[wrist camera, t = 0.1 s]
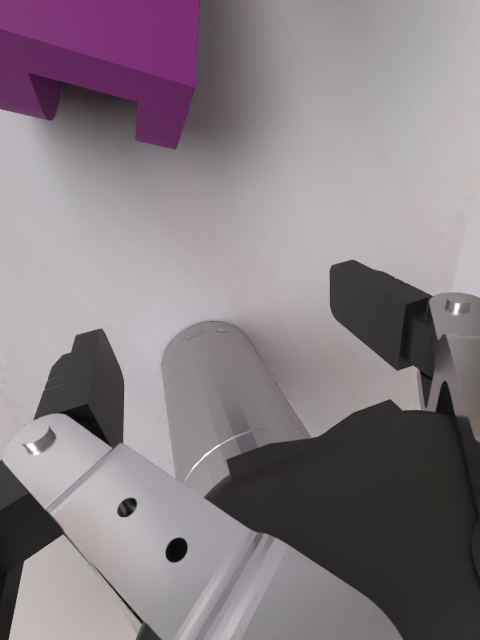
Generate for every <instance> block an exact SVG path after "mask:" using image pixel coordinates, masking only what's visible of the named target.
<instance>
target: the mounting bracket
mask: <svg viewBox="0 0 480 640" xmlns="http://www.w3.org/2000/svg"><path fill="white" fill-rule="evenodd" d="M198 19H199V0H0V109H2V110H7V111H11V112H15V113H20V114H24V115H28V116H32V117H37V118H41V119H45V120H50V121H51V120H53V119H54V117H55V115H56V112H57V108H58V103H59V96H60V84H61V82H65V83H68V84H72V85H76V86H80V87H83V88H87V89H91V90H94V91H98V92H102V93H105V94H109V95H113V96H117V97H120V98H124V99H128V100H131V101H135V102H138V103H137V120H136V136H135V140H136V141H140V142H145V143H149V144H153V145H158V146H162V147H166V148H171V149H176V147H177V145H178V142H179V139H180V135H181V132H182V129H183V125H184V122H185V118H186V115H187V112H188V108H189V105H190V102H191V98H192V95H193V92H194V88H195V74H196V55H197V37H198Z"/></svg>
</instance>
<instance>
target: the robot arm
mask: <svg viewBox="0 0 480 640" xmlns="http://www.w3.org/2000/svg"><path fill="white" fill-rule="evenodd" d="M330 308H331V311H332V314H333V316H334V317H335V319H336V320H337V321H338V322H340V323H341V324H342V325H343V326H344V327H345V328H347V329H348V330H349V331H350V332H351V333H353V334H354V335H355V336H356V337H357V338H359V339H360V340H361V341H362V342H363V343H365V344H366V345H367V346H368V347H369V348H371V349H372V350H373V351H374V352H375V353H377V354H378V355H379V356H380V357H381V358H383V359H384V360H385V361H386V362H387V363H389V364H390V365H391V366H392V367H393V368H394V369H396V370H397V371H398V370H401V369H404V368H407V367H410V366H413V365H414V366H415V367H416V368H418V372H417V383H418V391H419V399H420V407H421V410H405V411H402V410H401V409H400V408H399V407H398V406H397V405H396V404H395V403H394V402H393V401H392V400H391V399H390V400H387V401H384V402H381V403H379V404H376V405H373V406H371V407H368V408H365V409H362V410H360V411H357V412H354V413H352V414H351V415H349V416H348V417H346V418H345V419H344V420H342V421H341V422H339V423H338V424H336V425H335V426H334V427H332V428H331V429H329V430H328V431H327V432H325V433H324V434H322V435H321V436H318V437H315V438H311V436H310V435H309V433H308V432H307V430H306V428H305V427H304V425H303V424H302V422H301V421H300V419H299V417H298V416H297V414H296V413H295V411H294V410H293V408H292V407H291V405H290V403H289V402H288V400H287V399H286V397H285V396H284V394H283V393H282V391H281V389H280V388H279V386H278V385H277V383H276V382H275V380H274V379H273V377H272V375H271V374H270V372H269V371H268V369H267V368H266V366H265V364H264V363H263V361H262V360H261V358H260V356H259V355H258V353H257V352H256V350H255V349H254V347H253V346H252V344H251V343H250V341H249V339H248V338H247V337H246V336H245V334H244V333H243V332H242V331H240V330H239V329H238V328H236V327H234V326H232V325H230V324H227V323H222V322H205V323H199V324H196V325H194V326H191V327H189V328H187V329H185V330H184V331H182V332H181V333H179V334H178V335H177V336H176V337H175V338H174V339H173V340H172V341H171V343H170V344H169V345H168V347H167V348H166V351H165V353H164V355H163V359H162V376H163V384H164V391H165V400H166V408H167V415H168V423H169V430H170V437H171V445H172V452H173V460H174V467H175V475H176V479H175V478H174V477H172V476H171V475H169V474H168V473H166V472H165V471H164V470H162V469H161V468H159V467H158V466H156V465H155V464H153V463H152V462H150V461H149V460H147V459H146V458H144V457H143V456H142V455H140V454H139V453H137V452H136V451H134V450H133V449H131V448H130V447H128V446H127V445H125V444H123V420H124V380H123V375H122V372H121V369H120V366H119V364H118V361H117V359H116V357H115V355H114V352H113V350H112V348H111V345H110V343H109V341H108V339H107V336H106V334H105V332H104V331H103V329H97V330H93V331H90V332H86V333H82V334H79V335H76V337H75V340H74V344H73V347H72V351H71V353H68V354H65V355H62V356H61V357H60V359H59V360H58V361H57V362H56V363H55V364H54V365H53V366H52V368H51V371H50V374H49V377H48V380H49V381H47V383H46V386H45V391H43V394H42V397H41V400H40V403H39V406H38V409H37V411H36V414H35V417H34V420H33V421H32V422H30V423H29V424H27V425H25V426H24V427H23V428H21V429H20V430H19V431H18V432H17V433H15V434H14V436H13V437H12V438H11V439H10V440H9V441H8V443H7V444H6V446H5V448H4V450H3V454H2V460H1V461H0V640H8V639H9V634H10V629H11V624H12V619H13V614H14V609H15V604H16V599H17V594H18V589H19V584H20V579H21V573H22V568H23V563H24V561H25V560H26V559H28V558H29V557H31V556H32V555H33V554H35V553H37V552H38V551H39V550H41V549H42V548H44V547H45V546H47V545H48V544H50V543H51V542H53V541H54V540H55V539H57V538H58V537H60V536H61V535H64V536H65V537H66V538H67V539H68V540H69V542H70V543H71V544H72V545H73V546H74V547H75V548H76V550H77V551H78V552H79V553H80V554H81V555H82V556H83V558H84V559H85V560H86V561H87V562H88V563H89V565H90V566H91V567H92V568H93V569H94V570H95V571H96V573H97V574H98V575H99V576H100V577H101V578H102V579H103V581H104V582H105V583H106V584H107V585H108V586H109V588H110V589H111V590H112V591H113V592H114V593H115V595H116V596H117V597H118V598H119V599H120V601H121V602H122V603H123V604H124V605H125V606H126V608H127V609H128V610H129V611H130V612H131V613H132V615H133V616H134V617H135V618H136V619H137V620H138V622H139V623H140V624H141V625H142V626H141V629H140V631H139V633H138V635H137V638H136V640H480V298H478V297H476V296H473V295H469V294H464V293H441V294H437V295H435V296H431V295H429V294H427V293H425V292H423V291H421V290H419V289H417V288H415V287H413V286H411V285H409V284H407V283H404V282H403V281H401V280H399V279H395V277H393V276H391V275H389V274H387V273H385V272H382V271H377V270H373V269H371V268H369V267H367V266H365V265H363V264H361V263H359V262H357V261H355V260H349V261H346V262H342V263H338V264H335V265H332V266H331V269H330Z"/></svg>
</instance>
